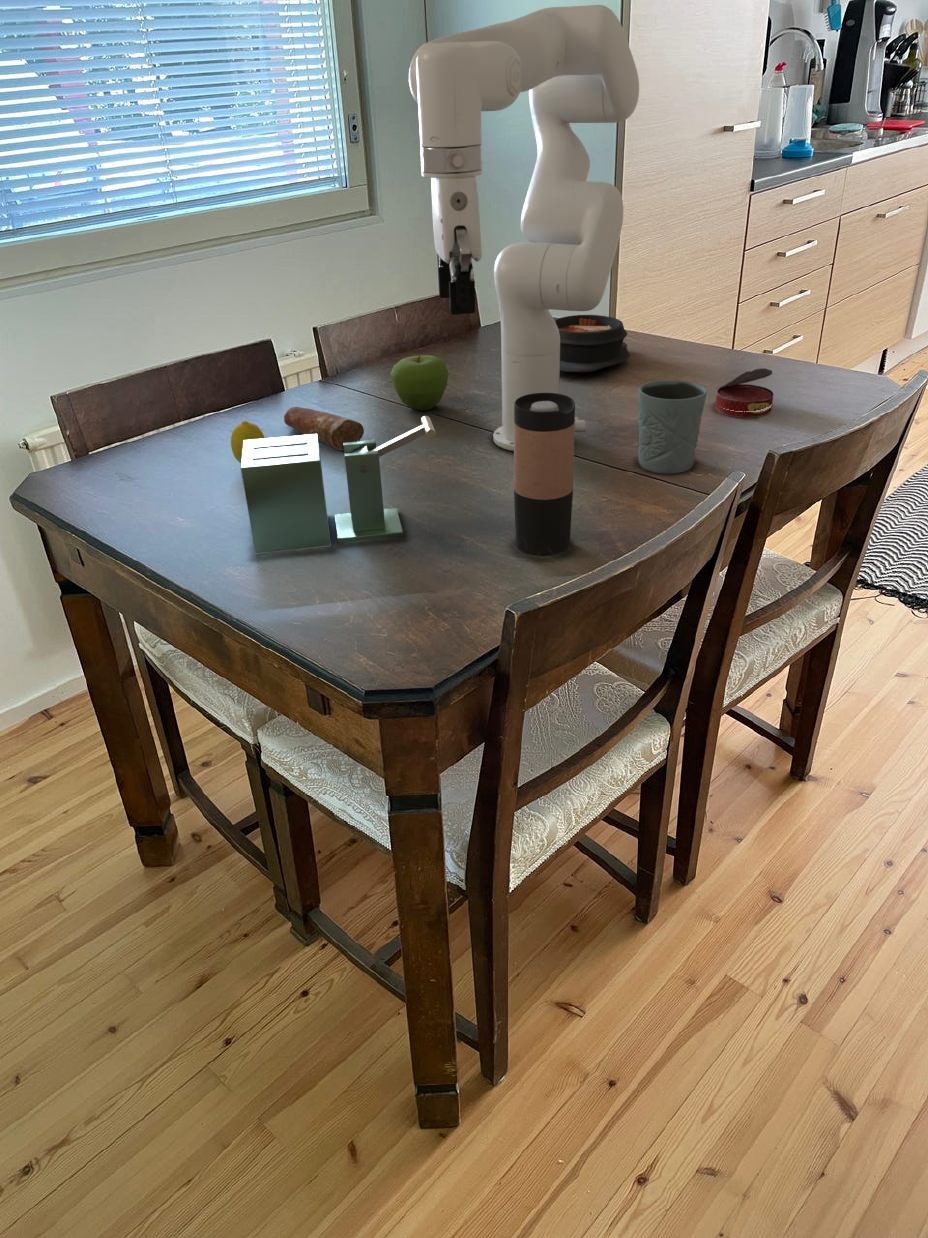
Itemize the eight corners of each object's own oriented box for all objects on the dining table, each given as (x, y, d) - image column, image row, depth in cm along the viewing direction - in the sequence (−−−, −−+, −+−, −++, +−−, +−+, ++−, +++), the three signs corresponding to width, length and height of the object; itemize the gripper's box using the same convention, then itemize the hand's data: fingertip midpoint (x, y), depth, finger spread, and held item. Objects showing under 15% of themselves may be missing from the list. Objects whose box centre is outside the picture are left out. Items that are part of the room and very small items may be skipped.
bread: (337, 457, 154) (333, 425, 151) (280, 429, 167) (275, 399, 164) (368, 447, 157) (365, 415, 154) (310, 420, 170) (306, 390, 167)
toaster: (328, 519, 133) (317, 432, 127) (331, 550, 125) (320, 459, 118) (257, 526, 132) (242, 439, 125) (255, 558, 124) (240, 467, 117)
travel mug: (510, 536, 127) (509, 393, 116) (565, 532, 127) (569, 390, 117) (518, 562, 120) (517, 414, 110) (576, 558, 121) (581, 410, 110)
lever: (433, 425, 126) (426, 410, 125) (439, 439, 122) (431, 424, 121) (355, 464, 127) (347, 450, 126) (358, 480, 123) (349, 465, 122)
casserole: (565, 344, 208) (566, 305, 204) (645, 352, 201) (648, 312, 196) (520, 375, 189) (520, 333, 185) (606, 385, 182) (608, 342, 177)
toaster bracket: (397, 515, 134) (391, 434, 127) (403, 539, 127) (397, 455, 121) (335, 521, 133) (325, 440, 126) (338, 546, 126) (328, 461, 120)
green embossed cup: (628, 471, 145) (633, 396, 138) (640, 448, 153) (645, 376, 147) (693, 478, 142) (701, 401, 135) (703, 454, 150) (711, 381, 143)
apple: (432, 394, 181) (429, 343, 175) (460, 408, 173) (459, 355, 168) (383, 406, 176) (379, 353, 171) (410, 420, 168) (407, 366, 163)
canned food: (723, 440, 167) (701, 392, 163) (727, 415, 175) (706, 370, 171) (785, 416, 161) (764, 367, 157) (786, 392, 169) (766, 344, 165)
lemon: (275, 463, 153) (268, 416, 148) (258, 476, 148) (250, 428, 144) (246, 460, 154) (238, 413, 150) (228, 472, 150) (220, 425, 146)
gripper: (495, 167, 107) (497, 318, 116) (469, 154, 122) (473, 289, 131) (431, 170, 106) (438, 322, 115) (413, 157, 121) (420, 292, 130)
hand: (456, 304), depth 123 cm, fingers open, 9 cm apart
